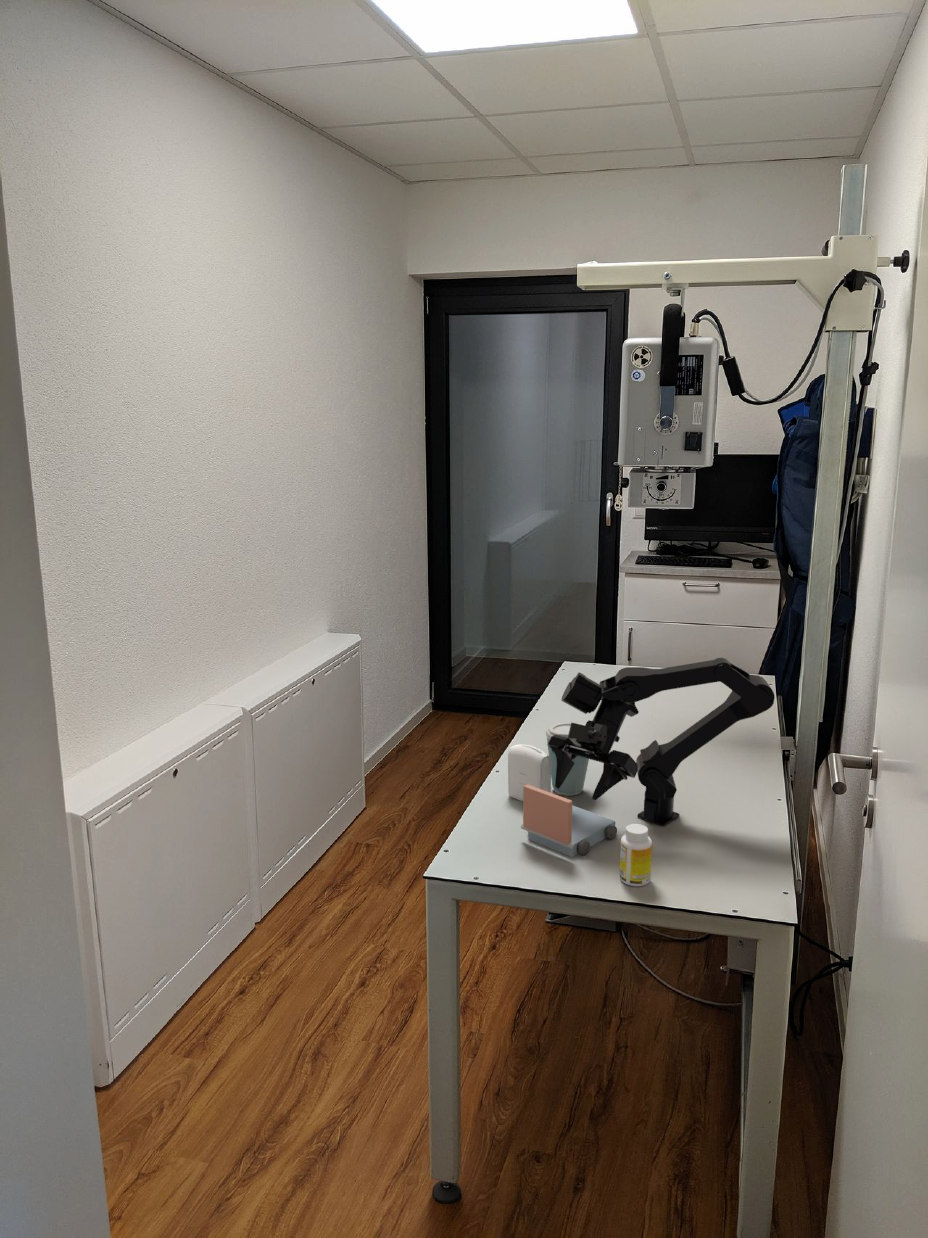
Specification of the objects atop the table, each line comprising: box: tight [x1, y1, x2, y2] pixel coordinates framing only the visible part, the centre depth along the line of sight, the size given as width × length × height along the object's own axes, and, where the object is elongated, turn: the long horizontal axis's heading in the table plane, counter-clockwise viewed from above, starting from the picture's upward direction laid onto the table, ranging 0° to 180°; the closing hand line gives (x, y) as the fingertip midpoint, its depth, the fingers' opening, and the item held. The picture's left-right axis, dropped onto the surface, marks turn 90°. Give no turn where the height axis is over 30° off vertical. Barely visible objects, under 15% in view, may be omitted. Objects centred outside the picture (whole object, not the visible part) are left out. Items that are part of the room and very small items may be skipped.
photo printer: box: [507, 743, 552, 802], centre depth 205 cm, size 10×4×12 cm, turn 45°
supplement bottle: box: [619, 823, 653, 887], centre depth 172 cm, size 6×6×10 cm
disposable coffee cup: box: [545, 721, 590, 797], centre depth 210 cm, size 11×11×15 cm
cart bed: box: [527, 804, 618, 858], centre depth 190 cm, size 14×14×3 cm
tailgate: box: [520, 784, 574, 849], centre depth 183 cm, size 1×12×9 cm, turn 46°
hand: (574, 793), depth 188 cm, fingers open, 9 cm apart
